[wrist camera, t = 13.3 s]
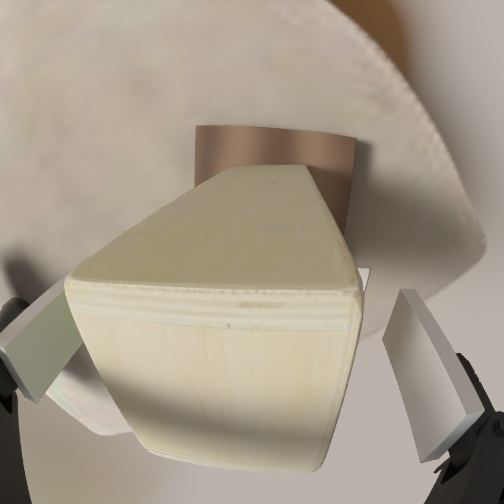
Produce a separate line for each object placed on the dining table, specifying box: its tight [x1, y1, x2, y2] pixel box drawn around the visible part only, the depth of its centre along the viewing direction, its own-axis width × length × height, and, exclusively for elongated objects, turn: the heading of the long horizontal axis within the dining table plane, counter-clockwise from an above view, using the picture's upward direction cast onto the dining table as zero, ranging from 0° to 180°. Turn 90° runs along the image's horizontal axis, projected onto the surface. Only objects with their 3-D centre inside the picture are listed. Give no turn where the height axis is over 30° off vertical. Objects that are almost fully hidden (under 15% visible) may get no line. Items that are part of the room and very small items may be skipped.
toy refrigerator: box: [64, 165, 364, 473], centre depth 16 cm, size 8×7×21 cm
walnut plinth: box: [195, 126, 356, 235], centre depth 27 cm, size 14×14×3 cm
